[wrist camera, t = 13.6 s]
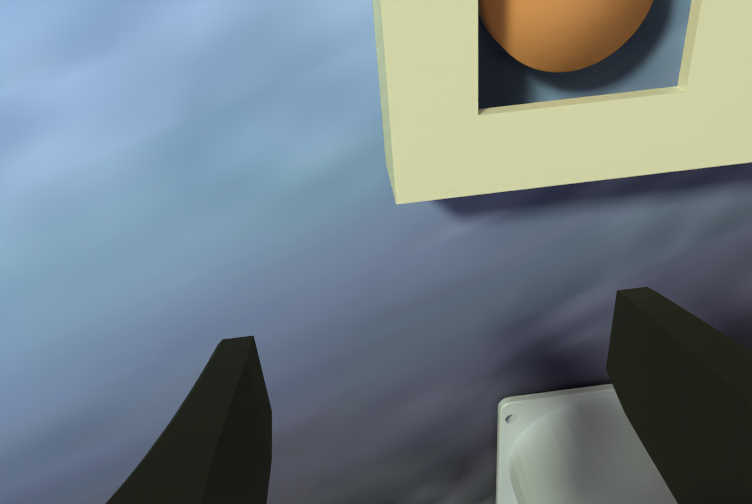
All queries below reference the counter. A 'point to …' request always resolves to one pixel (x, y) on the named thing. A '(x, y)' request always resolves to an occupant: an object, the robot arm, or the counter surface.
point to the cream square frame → (551, 109)
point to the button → (562, 29)
